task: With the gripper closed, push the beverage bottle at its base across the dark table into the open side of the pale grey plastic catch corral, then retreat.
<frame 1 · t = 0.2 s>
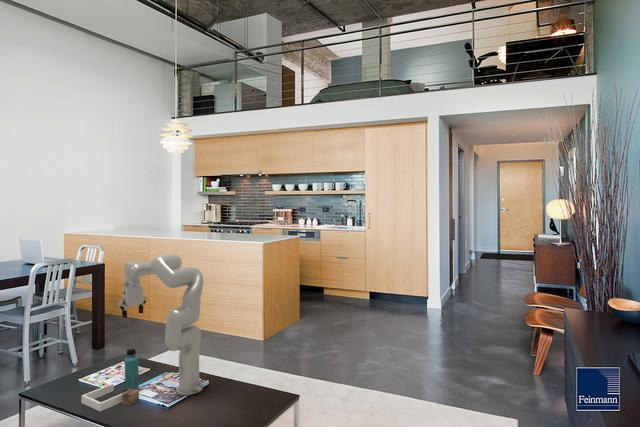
hand: (132, 315, 229), 31 cm above the table, fingers open, 9 cm apart
beverage bottle: (132, 390, 206), on the table
walnut block: (130, 402, 194), on the table
catch corral: (106, 400, 195), on the table
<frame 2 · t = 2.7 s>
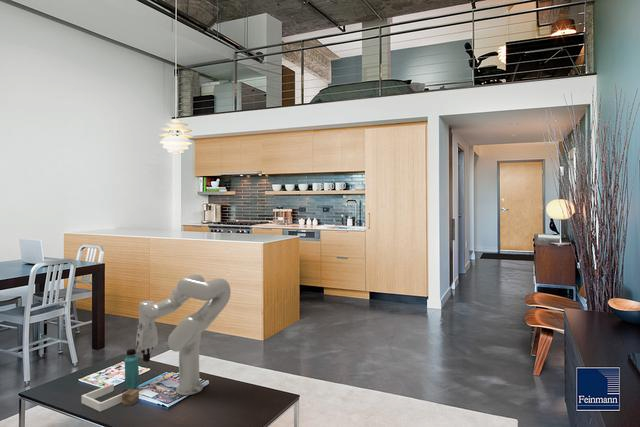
hand: (146, 360, 214), 11 cm above the table, fingers closed
nothing on the table moved.
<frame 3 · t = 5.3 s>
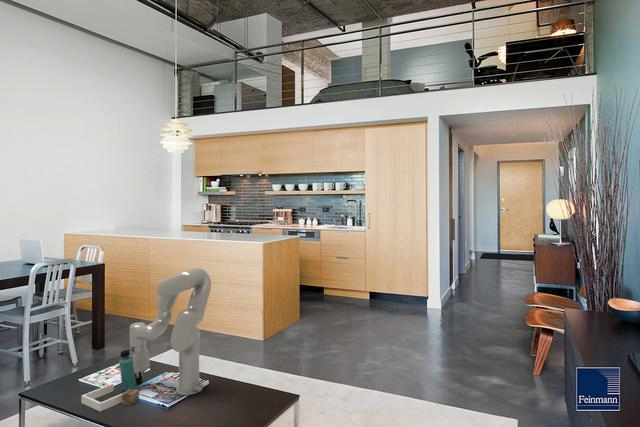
hand: (138, 384, 209), 1 cm above the table, fingers closed
beverage bottle: (130, 390, 205), on the table, touching arm, gripper
everything else where it was.
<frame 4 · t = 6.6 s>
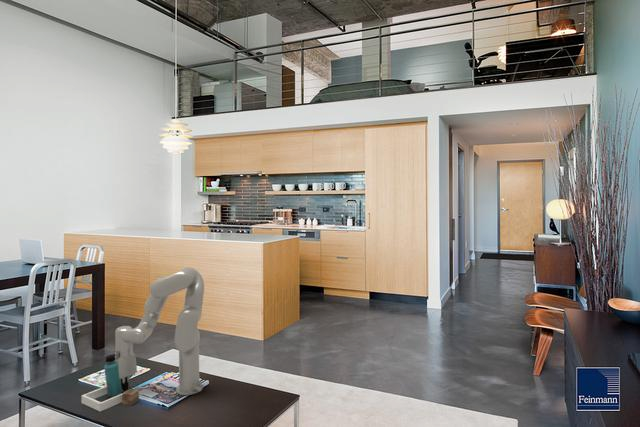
hand: (124, 389, 203), 1 cm above the table, fingers closed
beverage bottle: (115, 396, 199), on the table, touching arm, gripper
everything else where it was.
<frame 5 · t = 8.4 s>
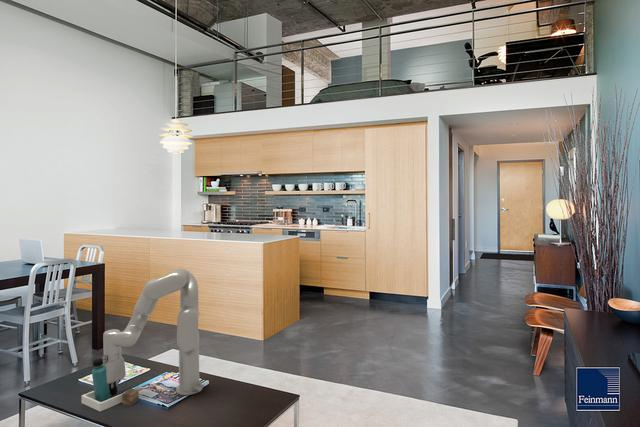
hand: (113, 394, 198), 1 cm above the table, fingers closed
beverage bottle: (103, 401, 194), on the table, touching arm, gripper
everything else where it was.
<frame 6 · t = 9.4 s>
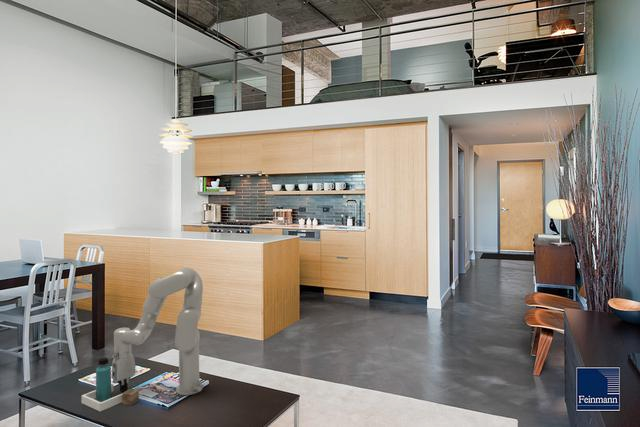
hand: (123, 391, 202), 1 cm above the table, fingers closed
beverage bottle: (103, 401, 194), on the table
everything else where it was.
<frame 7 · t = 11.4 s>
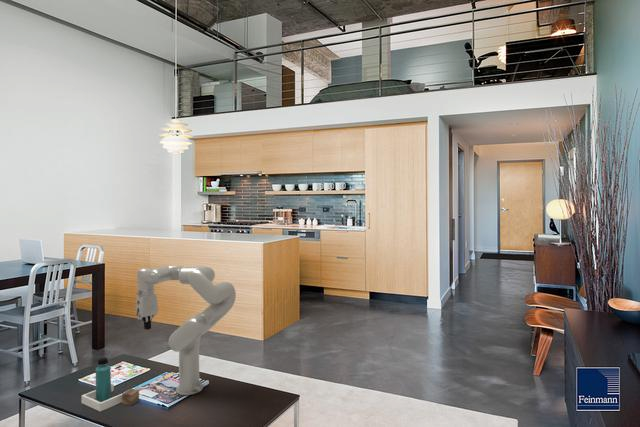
hand: (147, 328, 211), 29 cm above the table, fingers closed
nothing on the table moved.
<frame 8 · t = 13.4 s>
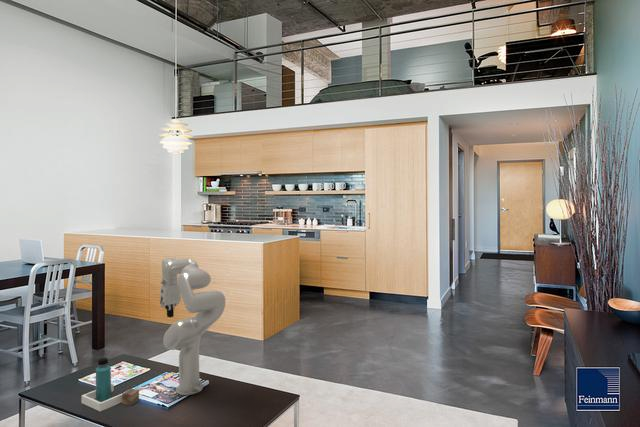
hand: (170, 316, 220), 32 cm above the table, fingers closed
nothing on the table moved.
at the end: beverage bottle 1.3 cm from the catch corral (horizontally); beverage bottle tilted 1°; beverage bottle touching table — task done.
